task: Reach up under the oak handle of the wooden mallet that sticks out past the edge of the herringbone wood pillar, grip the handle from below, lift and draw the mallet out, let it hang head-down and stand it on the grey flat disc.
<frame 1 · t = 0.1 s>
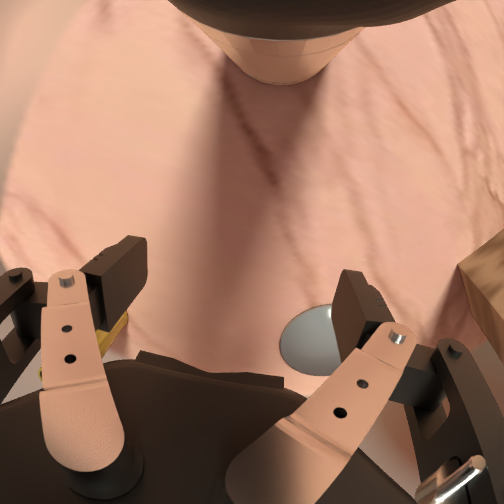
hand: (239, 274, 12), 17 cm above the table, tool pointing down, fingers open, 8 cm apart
grey flat disc: (328, 342, 35), on the table
herringbone wood pillar: (498, 267, 29), on the table
vase: (109, 308, 37), on the table
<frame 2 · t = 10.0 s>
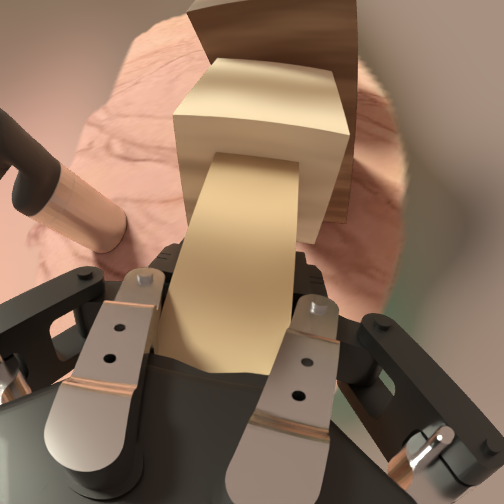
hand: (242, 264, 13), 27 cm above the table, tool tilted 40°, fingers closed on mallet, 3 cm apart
herringbone wood pillar: (314, 183, 43), on the table
mallet: (259, 186, 19), point 23 cm above the table, tilted 24°, touching gripper
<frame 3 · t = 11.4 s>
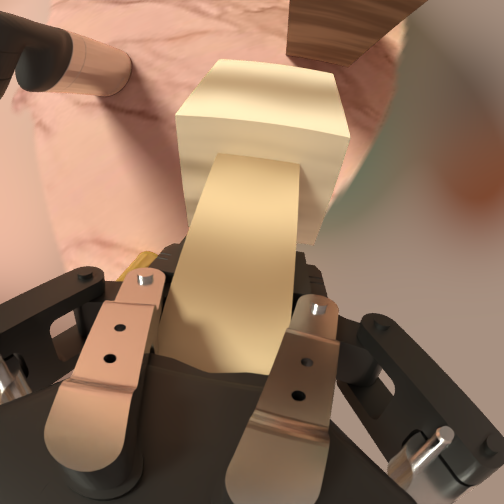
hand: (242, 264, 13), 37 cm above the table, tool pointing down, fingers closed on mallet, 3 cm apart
herringbone wood pillar: (321, 29, 36), on the table
mallet: (259, 187, 19), point 29 cm above the table, tilted 59°, touching gripper
vase: (150, 265, 56), on the table
when the fingers open (17 cm above the table, at t = 14.4 s): mallet drops 6 cm, resting on grey flat disc.
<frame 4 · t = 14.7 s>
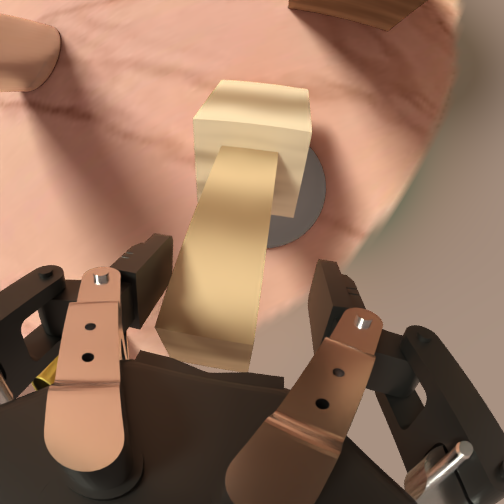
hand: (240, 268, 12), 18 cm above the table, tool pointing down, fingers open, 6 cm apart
grey flat disc: (262, 187, 28), on the table
mallet: (252, 178, 24), point 4 cm above the table, tilted 63°, touching grey flat disc
vase: (100, 323, 38), on the table
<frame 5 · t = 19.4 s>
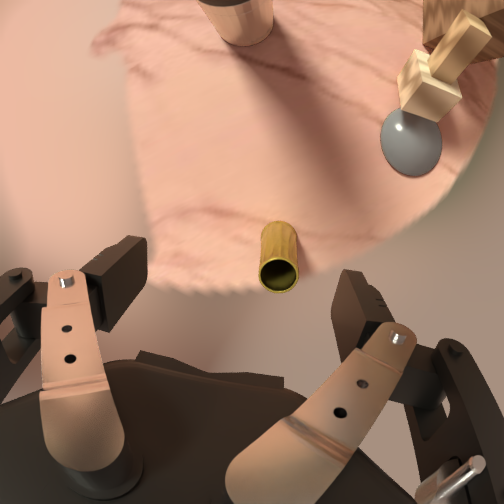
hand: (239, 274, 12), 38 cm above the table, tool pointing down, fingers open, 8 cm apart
grey flat disc: (412, 140, 43), on the table
herringbone wood pillar: (446, 28, 33), on the table
mallet: (431, 103, 34), point 7 cm above the table, tilted 120°
vase: (278, 237, 52), on the table
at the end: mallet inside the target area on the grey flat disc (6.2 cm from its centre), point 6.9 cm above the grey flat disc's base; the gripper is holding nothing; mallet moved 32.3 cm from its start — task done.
